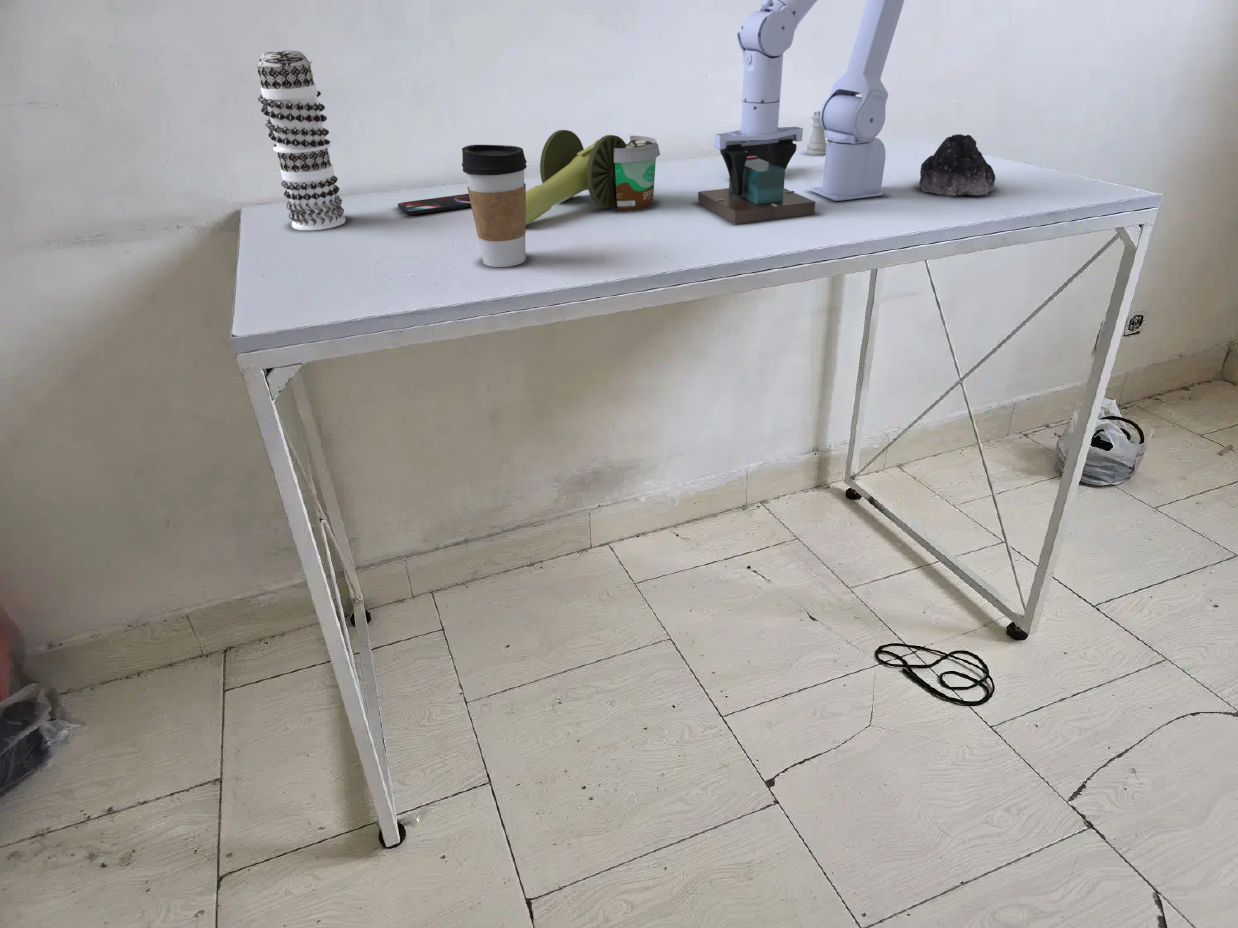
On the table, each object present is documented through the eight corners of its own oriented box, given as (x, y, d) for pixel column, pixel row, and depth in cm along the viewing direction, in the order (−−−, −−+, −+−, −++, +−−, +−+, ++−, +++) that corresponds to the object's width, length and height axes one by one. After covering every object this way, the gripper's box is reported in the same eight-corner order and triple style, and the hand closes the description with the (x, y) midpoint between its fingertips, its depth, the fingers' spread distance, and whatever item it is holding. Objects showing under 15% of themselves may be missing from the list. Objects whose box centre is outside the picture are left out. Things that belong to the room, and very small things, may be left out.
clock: (772, 194, 140) (773, 182, 138) (815, 214, 128) (816, 200, 127) (697, 203, 136) (697, 190, 135) (734, 224, 124) (735, 210, 123)
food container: (652, 214, 130) (651, 149, 125) (615, 213, 132) (613, 149, 126) (666, 196, 141) (666, 135, 135) (631, 195, 142) (630, 135, 137)
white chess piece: (805, 155, 166) (809, 114, 162) (805, 151, 170) (808, 110, 166) (827, 155, 166) (832, 114, 161) (826, 151, 169) (831, 110, 165)
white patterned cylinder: (287, 220, 134) (246, 52, 120) (344, 213, 137) (310, 48, 123) (291, 234, 126) (248, 57, 113) (351, 226, 129) (316, 52, 116)
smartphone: (493, 200, 138) (406, 212, 133) (493, 204, 139) (407, 216, 133) (479, 191, 144) (396, 203, 138) (479, 195, 144) (396, 206, 139)
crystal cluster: (962, 181, 147) (966, 123, 142) (1016, 191, 135) (1022, 127, 130) (898, 195, 144) (900, 136, 139) (948, 206, 132) (952, 142, 128)
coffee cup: (476, 253, 115) (462, 142, 108) (534, 250, 116) (525, 139, 108) (471, 272, 108) (456, 155, 100) (534, 268, 109) (524, 152, 101)
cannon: (541, 234, 122) (535, 156, 116) (486, 223, 129) (478, 148, 123) (638, 199, 139) (637, 129, 133) (585, 191, 145) (582, 124, 139)
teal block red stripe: (783, 201, 127) (785, 167, 125) (757, 204, 126) (759, 170, 123) (753, 188, 135) (755, 155, 133) (728, 191, 134) (730, 158, 131)
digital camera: (752, 168, 157) (754, 130, 154) (777, 171, 155) (780, 132, 151) (726, 179, 150) (728, 139, 147) (752, 182, 148) (754, 142, 144)
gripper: (789, 94, 128) (782, 182, 136) (706, 101, 125) (704, 191, 132) (813, 99, 123) (804, 191, 130) (727, 107, 119) (723, 200, 126)
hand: (755, 191), depth 130 cm, fingers open, 6 cm apart
